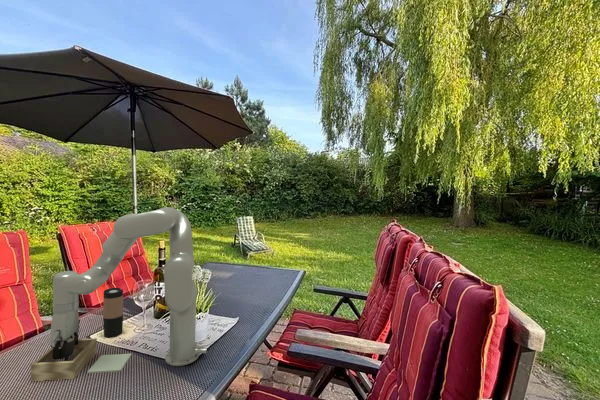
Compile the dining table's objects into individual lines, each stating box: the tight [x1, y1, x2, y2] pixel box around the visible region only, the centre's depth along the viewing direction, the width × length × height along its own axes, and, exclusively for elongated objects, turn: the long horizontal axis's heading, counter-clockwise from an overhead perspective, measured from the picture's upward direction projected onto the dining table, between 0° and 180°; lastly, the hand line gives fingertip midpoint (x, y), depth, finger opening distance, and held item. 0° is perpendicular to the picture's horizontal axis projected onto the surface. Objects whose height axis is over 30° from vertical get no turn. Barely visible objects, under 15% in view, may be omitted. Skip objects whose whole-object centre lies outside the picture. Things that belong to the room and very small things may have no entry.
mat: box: [87, 353, 133, 374], centre depth 119 cm, size 11×11×1 cm
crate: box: [30, 337, 98, 382], centre depth 116 cm, size 13×17×6 cm
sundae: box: [57, 334, 79, 361], centre depth 116 cm, size 7×7×15 cm
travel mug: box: [102, 287, 124, 339], centre depth 141 cm, size 8×8×20 cm
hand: (66, 351), depth 116 cm, fingers open, 9 cm apart
